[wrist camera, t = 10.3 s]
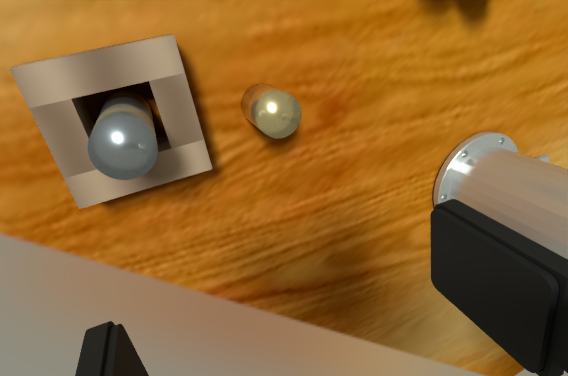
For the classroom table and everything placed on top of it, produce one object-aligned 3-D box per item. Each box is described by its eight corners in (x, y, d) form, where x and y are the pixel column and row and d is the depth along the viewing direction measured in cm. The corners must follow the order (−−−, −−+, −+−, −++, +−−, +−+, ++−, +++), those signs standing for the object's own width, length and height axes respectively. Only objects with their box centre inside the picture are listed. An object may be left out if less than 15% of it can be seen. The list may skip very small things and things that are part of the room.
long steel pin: (143, 86, 29) (145, 110, 20) (157, 129, 30) (166, 169, 22) (94, 97, 28) (76, 127, 19) (112, 141, 29) (102, 188, 21)
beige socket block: (169, 34, 28) (174, 34, 24) (204, 154, 32) (212, 169, 29) (26, 63, 25) (9, 68, 22) (85, 188, 30) (79, 209, 26)
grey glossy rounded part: (275, 79, 32) (297, 86, 28) (282, 118, 34) (304, 131, 29) (237, 89, 31) (253, 98, 27) (246, 128, 33) (262, 143, 29)
